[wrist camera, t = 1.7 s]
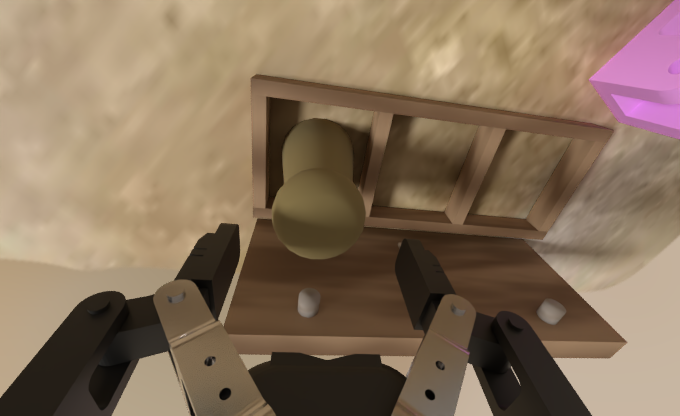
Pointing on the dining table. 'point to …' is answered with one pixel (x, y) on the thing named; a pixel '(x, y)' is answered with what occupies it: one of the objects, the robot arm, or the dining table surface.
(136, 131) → the dining table surface
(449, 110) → the wooden peg rack
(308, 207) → the olive bulbous cylinder
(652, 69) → the bracket
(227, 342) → the robot arm
